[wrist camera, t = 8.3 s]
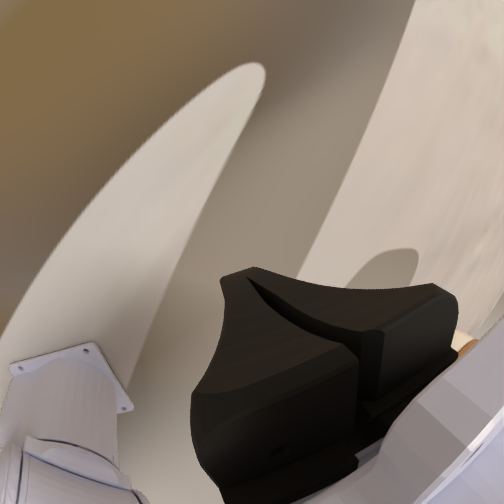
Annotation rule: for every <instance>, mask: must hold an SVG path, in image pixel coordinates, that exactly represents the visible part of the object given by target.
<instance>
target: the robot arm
mask: <svg viewBox="0 0 504 504" xmlns="http://www.w3.org/2000/svg"><path fill="white" fill-rule="evenodd" d="M220 284H221V288H222V292H223V295H224V299H225V310H224V321H223V326H222V331H221V336H220V339H219V342H218V345H217V348H216V351H215V354H214V356H213V358H212V360H211V362H210V364H209V367H208V369H207V371H206V372H205V374H204V376H203V377H202V379H201V380H200V382H199V384H198V385H197V387H196V388H195V390H194V391H193V392H192V395H191V409H190V427H191V436H192V442H193V446H194V449H195V452H196V455H197V458H198V461H199V463H200V465H201V467H202V468H203V470H204V471H205V472H206V473H207V475H208V476H209V477H210V478H211V479H212V481H213V482H214V483H215V484H216V486H217V487H218V488H219V490H220V493H221V495H222V498H223V500H224V503H225V504H504V315H503V316H502V317H501V318H500V319H499V320H498V321H497V323H495V325H493V327H492V328H491V329H490V330H489V331H488V332H487V333H486V334H485V335H484V336H483V337H481V339H479V340H478V341H477V342H476V343H475V344H474V345H473V346H472V347H471V348H470V349H469V350H468V351H467V352H465V353H464V354H463V355H462V356H461V357H460V358H459V359H458V360H456V359H457V358H458V356H459V354H458V352H457V351H456V350H454V349H453V348H452V347H451V344H452V340H453V337H454V333H455V329H456V325H457V320H458V313H459V312H458V302H457V300H456V298H455V296H454V295H452V294H451V293H449V292H447V291H446V290H444V289H442V288H440V287H439V286H437V285H435V284H433V283H430V284H423V285H417V286H410V287H404V288H392V289H368V290H367V289H346V288H337V287H330V286H323V285H317V284H313V283H309V282H304V281H300V280H296V279H293V278H289V277H286V276H283V275H280V274H277V273H273V272H271V271H267V270H264V269H261V268H258V267H251V268H248V269H245V270H242V271H239V272H236V273H233V274H230V275H227V276H223V277H222V278H221V279H220ZM84 349H88V350H89V351H85V350H84ZM20 366H21V367H22V368H21V367H20ZM8 369H9V371H10V372H11V374H12V375H13V378H12V381H11V384H10V386H9V389H8V392H7V395H6V398H5V401H4V404H3V407H2V410H1V413H0V446H1V449H2V452H1V455H0V504H150V503H149V501H148V499H147V498H146V497H145V495H143V494H142V493H141V492H139V491H137V490H134V489H132V487H131V480H130V476H129V475H126V474H124V473H122V472H120V465H119V454H118V453H119V452H118V439H117V438H118V437H117V414H120V413H124V412H128V411H132V410H133V409H134V404H133V403H132V401H131V400H130V398H129V397H128V395H127V394H126V392H125V391H124V389H123V388H122V386H121V384H120V383H119V381H118V380H117V378H116V377H115V375H114V373H113V372H112V370H111V368H110V367H109V365H108V363H107V362H106V360H105V358H104V357H103V355H102V353H101V351H100V350H99V348H98V346H97V345H96V344H95V343H93V342H89V343H85V344H82V345H78V346H75V347H71V348H67V349H64V350H60V351H57V352H53V353H49V354H46V355H42V356H38V357H34V358H30V359H27V360H23V361H19V362H15V363H11V364H10V365H9V367H8ZM123 407H125V408H123Z"/></svg>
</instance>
